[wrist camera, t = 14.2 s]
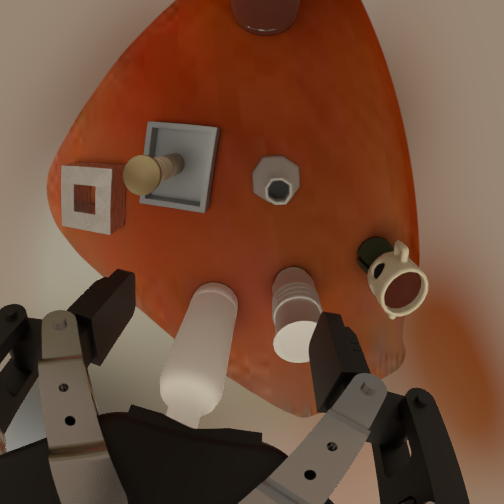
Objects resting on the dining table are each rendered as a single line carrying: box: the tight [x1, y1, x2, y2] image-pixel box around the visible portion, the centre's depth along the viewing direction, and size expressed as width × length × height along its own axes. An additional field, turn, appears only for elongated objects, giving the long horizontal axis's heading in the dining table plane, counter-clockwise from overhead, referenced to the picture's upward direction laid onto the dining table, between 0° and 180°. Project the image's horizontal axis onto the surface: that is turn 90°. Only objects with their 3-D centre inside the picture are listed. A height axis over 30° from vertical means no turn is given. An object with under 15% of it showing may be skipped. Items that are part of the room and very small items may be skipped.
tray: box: [140, 122, 221, 213], centre depth 38 cm, size 12×10×3 cm
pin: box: [123, 154, 185, 195], centre depth 34 cm, size 4×4×12 cm
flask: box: [251, 155, 300, 205], centre depth 35 cm, size 7×7×10 cm
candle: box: [272, 267, 322, 363], centre depth 39 cm, size 7×7×15 cm
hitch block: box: [61, 161, 126, 235], centre depth 39 cm, size 10×10×5 cm
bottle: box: [160, 282, 238, 429], centre depth 34 cm, size 8×8×30 cm
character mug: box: [357, 237, 428, 319], centre depth 38 cm, size 11×7×13 cm, turn 3°
